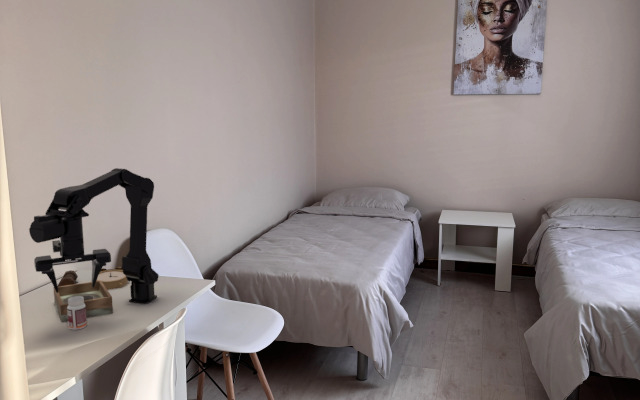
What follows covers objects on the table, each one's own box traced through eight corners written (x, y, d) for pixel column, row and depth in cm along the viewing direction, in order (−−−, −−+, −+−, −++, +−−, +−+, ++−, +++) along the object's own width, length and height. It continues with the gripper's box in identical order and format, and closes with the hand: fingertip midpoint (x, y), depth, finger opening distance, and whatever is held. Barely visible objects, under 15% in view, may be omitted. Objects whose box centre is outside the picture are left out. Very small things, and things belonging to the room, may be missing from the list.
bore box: (101, 294, 175) (100, 280, 174) (112, 312, 160) (112, 296, 159) (54, 302, 168) (53, 287, 167) (61, 322, 153) (60, 305, 152)
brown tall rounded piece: (74, 284, 191) (70, 296, 177) (60, 278, 190) (55, 290, 176) (82, 269, 192) (78, 281, 178) (68, 264, 190) (63, 274, 176)
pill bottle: (88, 323, 152) (87, 295, 151) (84, 329, 148) (82, 301, 146) (71, 323, 152) (69, 295, 150) (66, 330, 147) (64, 301, 146)
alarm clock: (92, 283, 178) (93, 263, 191) (93, 296, 180) (94, 276, 193) (127, 280, 182) (127, 261, 195) (128, 293, 183) (127, 273, 197)
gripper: (102, 225, 157) (105, 276, 160) (30, 232, 147) (35, 286, 150) (109, 233, 148) (112, 287, 150) (33, 241, 138) (38, 298, 141)
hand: (75, 289), depth 148 cm, fingers open, 9 cm apart
